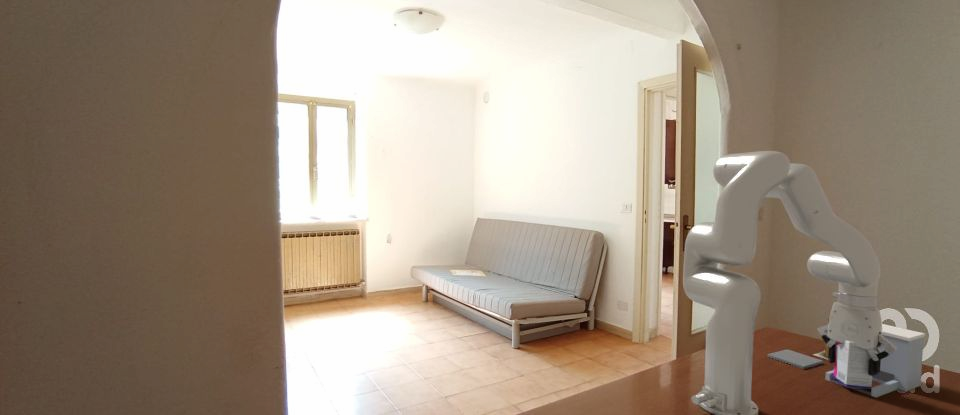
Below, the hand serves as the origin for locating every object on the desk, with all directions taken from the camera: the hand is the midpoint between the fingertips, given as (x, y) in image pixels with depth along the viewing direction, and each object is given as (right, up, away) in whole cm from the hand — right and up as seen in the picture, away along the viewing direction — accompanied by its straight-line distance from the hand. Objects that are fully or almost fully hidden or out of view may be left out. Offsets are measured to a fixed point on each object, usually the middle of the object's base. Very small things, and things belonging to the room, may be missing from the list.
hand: (852, 367), depth 114 cm
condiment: (+11, -5, +20) cm, 23 cm away
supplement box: (0, -4, 0) cm, 4 cm away
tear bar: (-1, -5, 0) cm, 5 cm away
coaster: (-2, -4, +18) cm, 19 cm away
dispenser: (+8, -5, +4) cm, 10 cm away
